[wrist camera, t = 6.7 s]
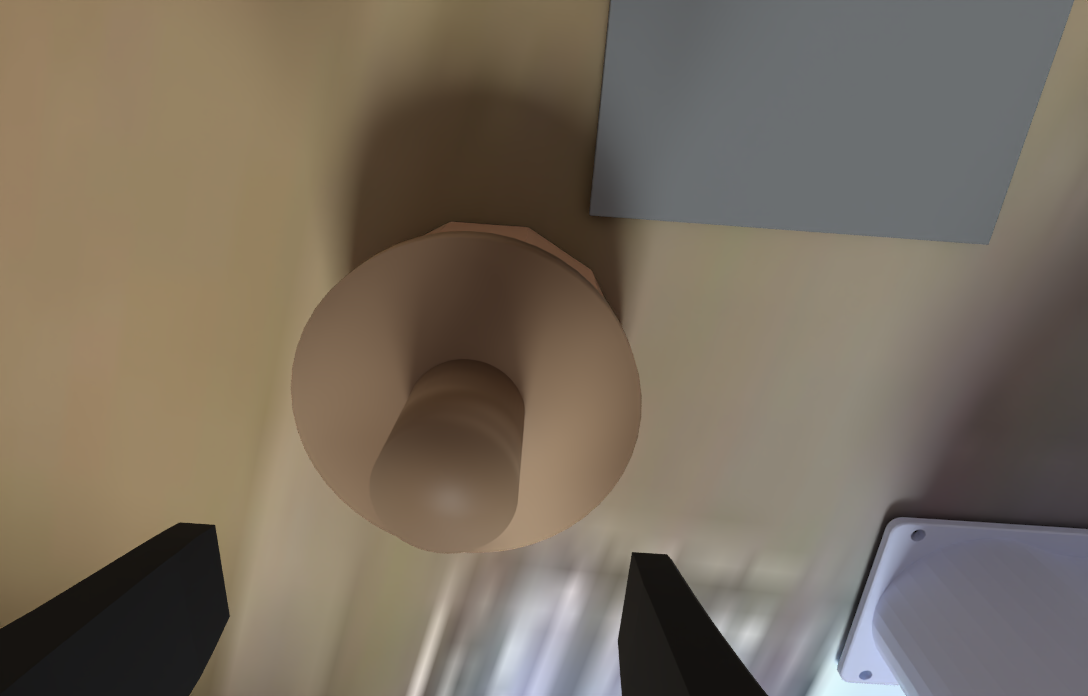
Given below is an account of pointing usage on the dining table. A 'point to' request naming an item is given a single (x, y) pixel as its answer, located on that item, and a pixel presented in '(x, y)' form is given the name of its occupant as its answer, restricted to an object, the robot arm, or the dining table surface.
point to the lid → (467, 393)
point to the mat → (820, 112)
